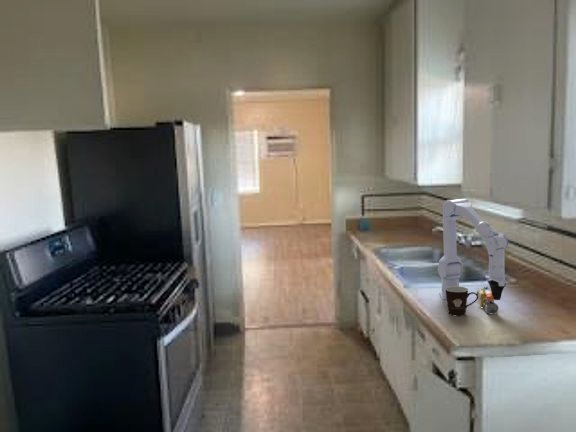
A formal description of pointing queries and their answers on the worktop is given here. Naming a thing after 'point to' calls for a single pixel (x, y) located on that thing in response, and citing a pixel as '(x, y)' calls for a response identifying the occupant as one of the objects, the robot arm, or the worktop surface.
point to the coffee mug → (457, 300)
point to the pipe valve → (486, 302)
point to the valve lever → (488, 294)
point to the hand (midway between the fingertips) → (496, 299)
